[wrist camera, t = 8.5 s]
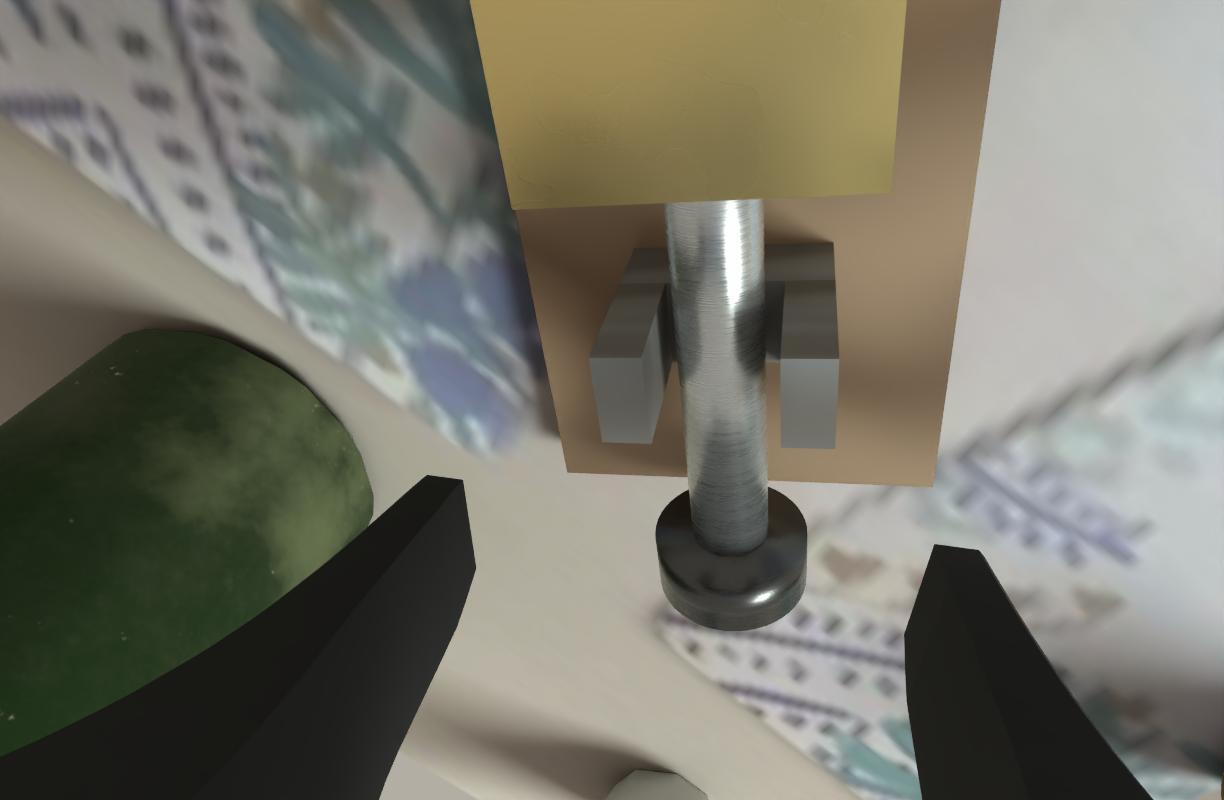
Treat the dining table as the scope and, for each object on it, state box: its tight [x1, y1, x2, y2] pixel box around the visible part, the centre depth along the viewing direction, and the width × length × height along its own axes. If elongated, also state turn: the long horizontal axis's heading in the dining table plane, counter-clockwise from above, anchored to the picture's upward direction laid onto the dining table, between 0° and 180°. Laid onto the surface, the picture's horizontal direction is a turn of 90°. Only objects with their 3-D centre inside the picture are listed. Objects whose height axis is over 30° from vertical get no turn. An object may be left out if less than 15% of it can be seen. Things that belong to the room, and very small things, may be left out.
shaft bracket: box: [515, 0, 1001, 487], centre depth 14 cm, size 24×10×6 cm, turn 7°
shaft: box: [656, 199, 807, 631], centre depth 16 cm, size 16×4×4 cm, turn 7°
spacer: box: [470, 0, 907, 210], centre depth 12 cm, size 4×6×5 cm
